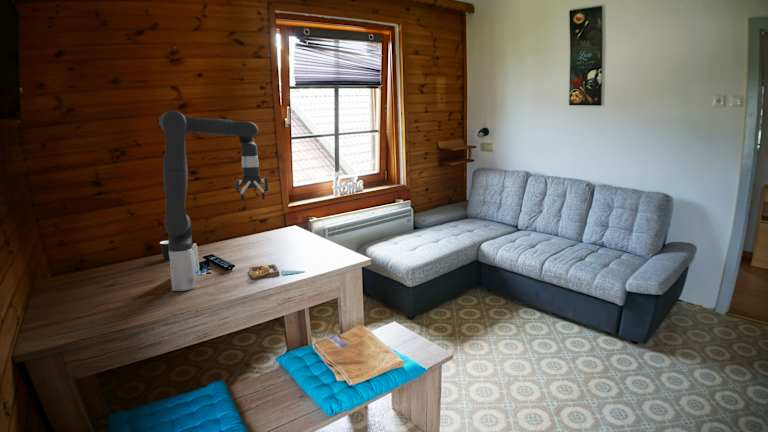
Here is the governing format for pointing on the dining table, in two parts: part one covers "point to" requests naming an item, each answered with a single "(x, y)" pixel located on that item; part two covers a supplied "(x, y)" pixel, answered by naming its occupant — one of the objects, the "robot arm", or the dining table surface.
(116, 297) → the dining table surface
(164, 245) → the dixie cup
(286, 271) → the teal pad
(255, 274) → the figurine
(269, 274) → the brown wooden frame
